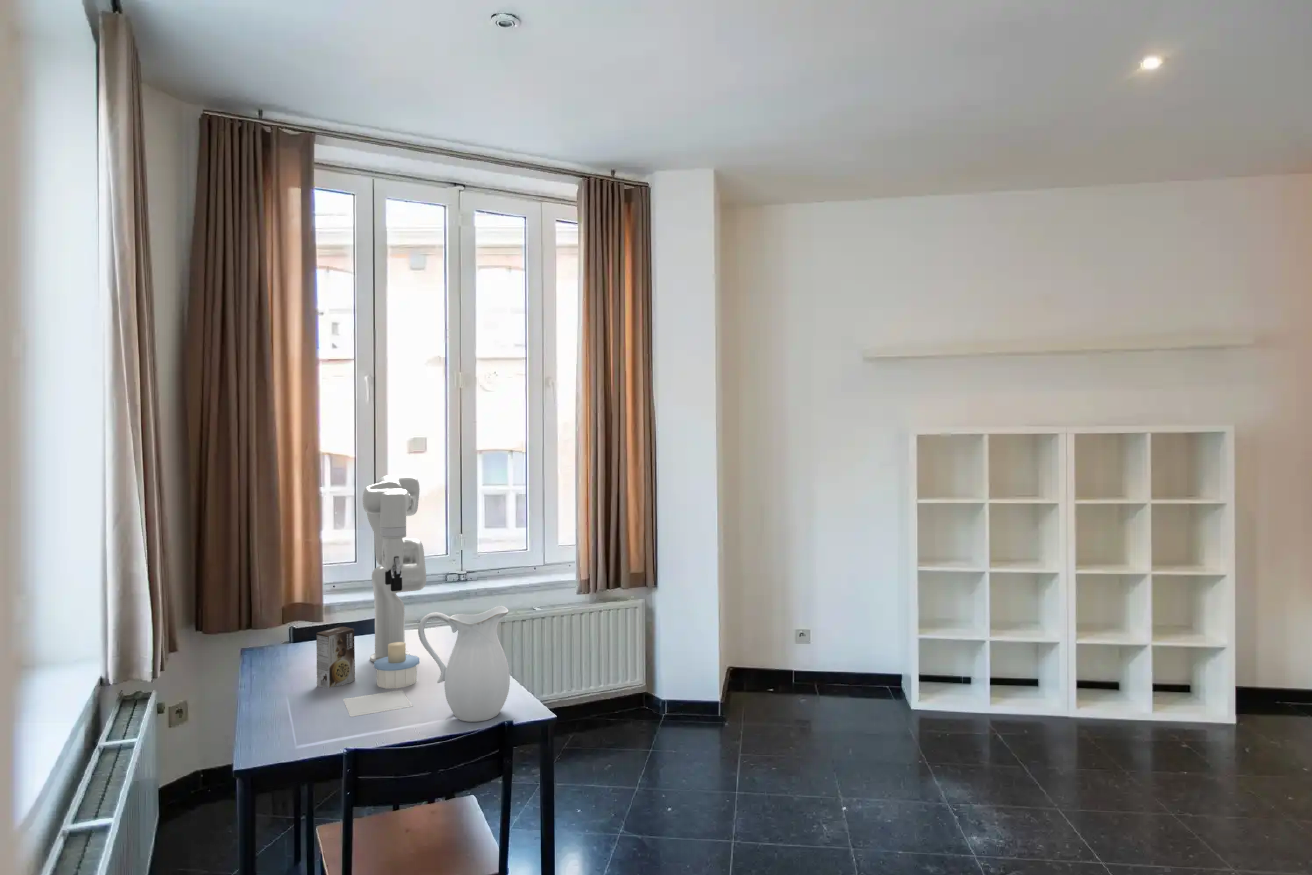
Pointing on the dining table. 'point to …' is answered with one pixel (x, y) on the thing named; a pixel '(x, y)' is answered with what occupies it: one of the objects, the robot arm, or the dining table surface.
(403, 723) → the dining table surface
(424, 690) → the dining table surface
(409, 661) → the lid
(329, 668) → the coffee box
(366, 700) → the mat
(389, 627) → the robot arm
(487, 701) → the pitcher
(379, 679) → the bowl
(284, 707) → the dining table surface
